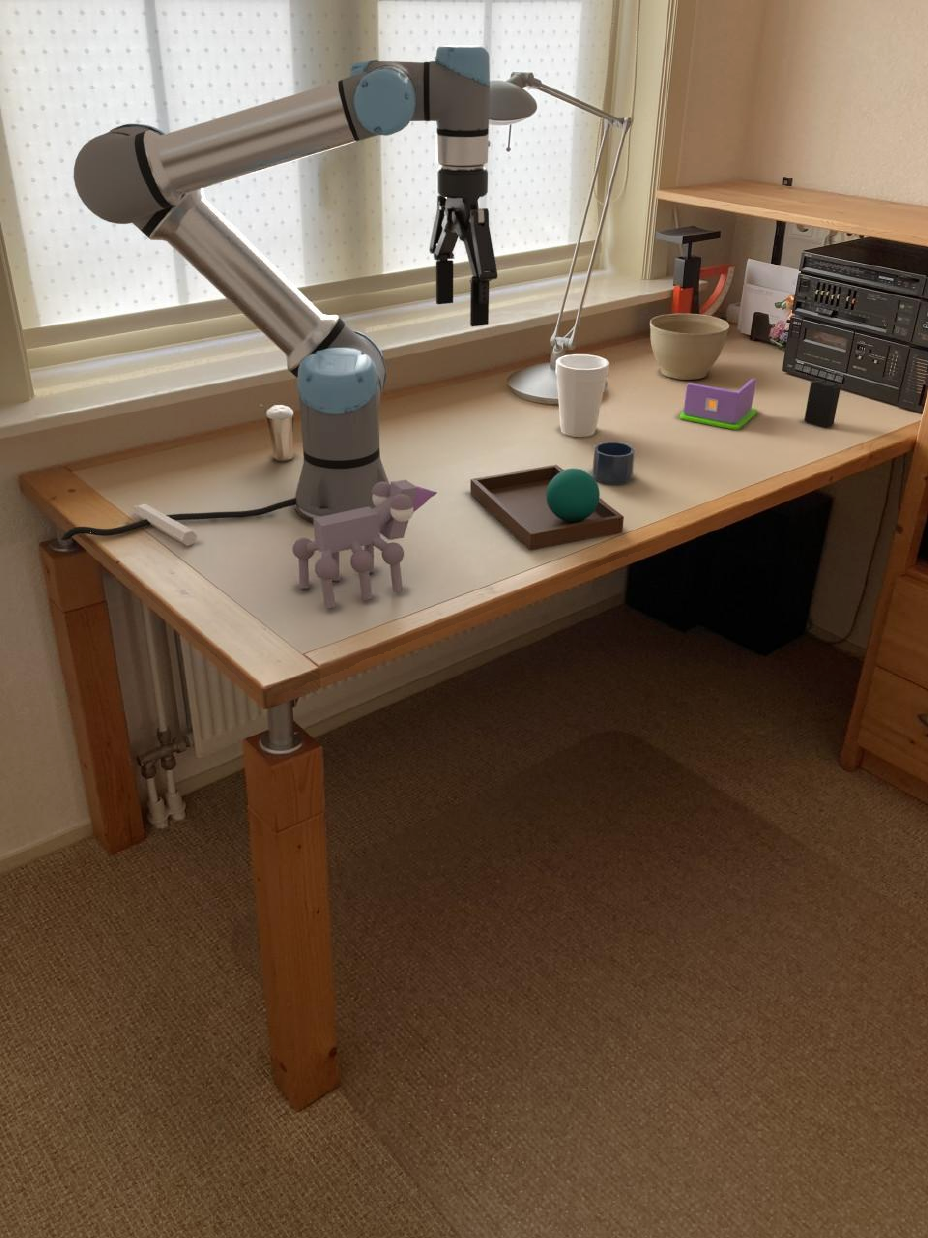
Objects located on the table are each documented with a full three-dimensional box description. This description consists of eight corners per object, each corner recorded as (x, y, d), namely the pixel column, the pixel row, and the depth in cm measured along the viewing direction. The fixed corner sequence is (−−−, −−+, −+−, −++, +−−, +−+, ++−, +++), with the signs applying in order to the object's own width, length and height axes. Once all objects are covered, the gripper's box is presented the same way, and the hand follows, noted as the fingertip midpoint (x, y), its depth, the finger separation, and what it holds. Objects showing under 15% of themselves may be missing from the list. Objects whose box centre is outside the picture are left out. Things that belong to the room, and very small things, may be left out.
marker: (135, 515, 165) (193, 547, 155) (123, 512, 163) (181, 544, 154) (140, 499, 165) (198, 530, 155) (129, 496, 163) (187, 527, 153)
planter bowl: (725, 366, 230) (732, 316, 224) (717, 389, 216) (724, 336, 211) (651, 359, 234) (656, 309, 228) (639, 381, 221) (644, 329, 215)
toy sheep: (421, 551, 154) (420, 463, 147) (457, 583, 146) (457, 491, 139) (291, 582, 145) (284, 491, 138) (321, 618, 137) (314, 522, 130)
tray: (529, 550, 154) (530, 534, 153) (470, 493, 171) (470, 478, 170) (622, 532, 160) (624, 516, 158) (555, 479, 177) (556, 464, 175)
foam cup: (603, 423, 199) (608, 354, 193) (604, 441, 191) (609, 370, 185) (552, 420, 200) (556, 353, 194) (551, 438, 192) (555, 368, 186)
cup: (605, 487, 174) (607, 458, 171) (585, 472, 179) (587, 444, 176) (639, 481, 176) (642, 452, 174) (619, 466, 181) (621, 439, 179)
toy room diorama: (738, 431, 196) (743, 395, 193) (677, 418, 202) (681, 383, 198) (758, 412, 205) (764, 377, 202) (699, 400, 211) (704, 367, 207)
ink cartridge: (833, 425, 199) (841, 384, 195) (827, 428, 198) (835, 387, 194) (810, 418, 202) (817, 378, 198) (803, 421, 201) (811, 380, 197)
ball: (531, 516, 160) (573, 522, 155) (540, 463, 159) (581, 467, 154) (564, 520, 166) (605, 527, 161) (572, 469, 165) (614, 474, 160)
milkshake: (262, 456, 184) (256, 400, 179) (291, 450, 186) (287, 395, 181) (270, 465, 181) (265, 408, 176) (300, 459, 183) (296, 404, 178)
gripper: (523, 177, 145) (518, 331, 156) (452, 153, 165) (452, 292, 176) (473, 180, 143) (471, 337, 153) (407, 156, 162) (410, 296, 173)
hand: (461, 313), depth 165 cm, fingers open, 13 cm apart
